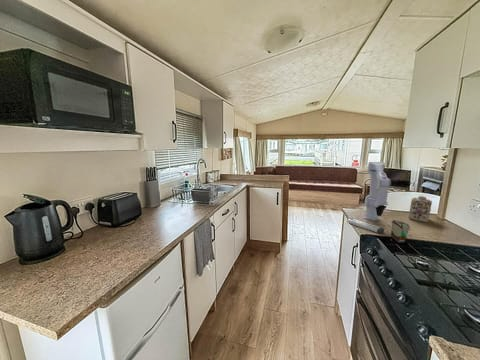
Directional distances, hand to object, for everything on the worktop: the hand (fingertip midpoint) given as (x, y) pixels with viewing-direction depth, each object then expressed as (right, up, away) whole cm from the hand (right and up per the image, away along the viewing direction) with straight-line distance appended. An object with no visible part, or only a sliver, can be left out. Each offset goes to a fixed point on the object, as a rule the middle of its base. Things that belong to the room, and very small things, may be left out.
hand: (379, 215), depth 139 cm
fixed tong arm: (-11, -8, 0) cm, 13 cm away
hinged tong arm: (-8, -8, +2) cm, 12 cm away
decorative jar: (+45, -7, +21) cm, 50 cm away
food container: (+2, -12, -17) cm, 20 cm away
